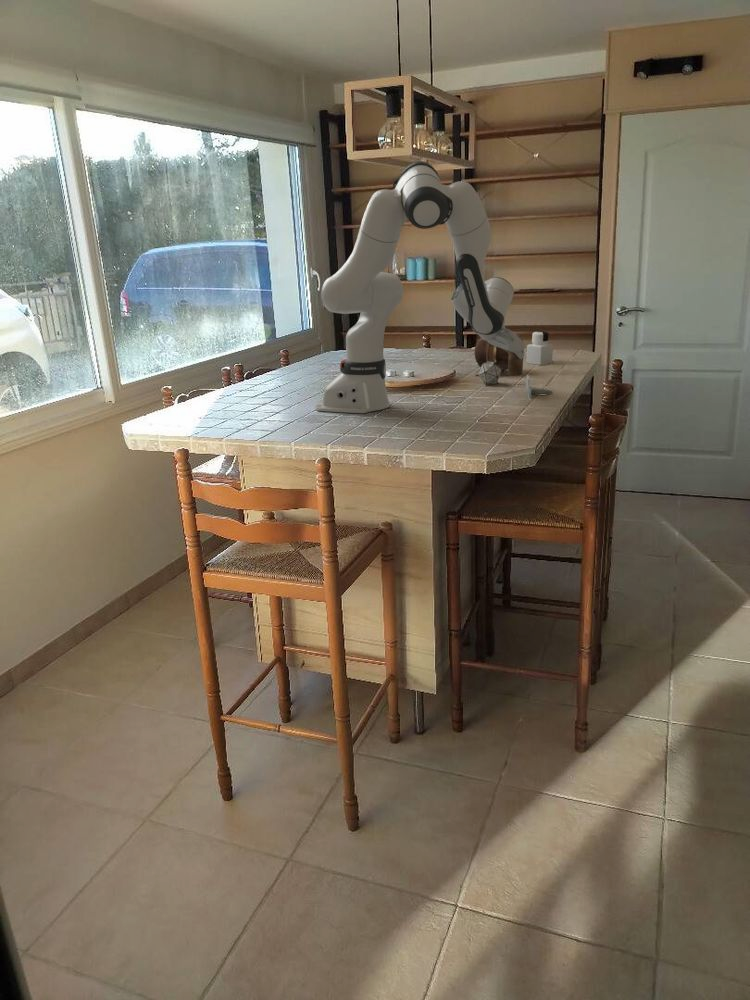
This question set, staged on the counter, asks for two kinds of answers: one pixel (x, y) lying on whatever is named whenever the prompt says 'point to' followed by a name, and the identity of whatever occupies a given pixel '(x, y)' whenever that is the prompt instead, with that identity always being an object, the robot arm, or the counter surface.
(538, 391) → the slate coaster
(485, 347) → the wooden sphere
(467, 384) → the counter surface
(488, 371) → the game die
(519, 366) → the pepper mill
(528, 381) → the clear wall
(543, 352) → the medicine bottle
